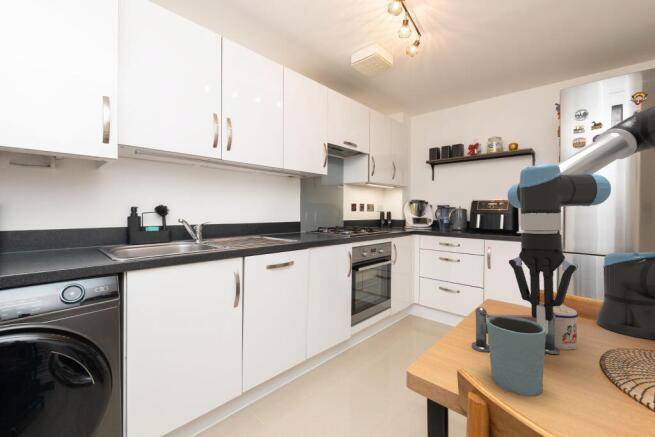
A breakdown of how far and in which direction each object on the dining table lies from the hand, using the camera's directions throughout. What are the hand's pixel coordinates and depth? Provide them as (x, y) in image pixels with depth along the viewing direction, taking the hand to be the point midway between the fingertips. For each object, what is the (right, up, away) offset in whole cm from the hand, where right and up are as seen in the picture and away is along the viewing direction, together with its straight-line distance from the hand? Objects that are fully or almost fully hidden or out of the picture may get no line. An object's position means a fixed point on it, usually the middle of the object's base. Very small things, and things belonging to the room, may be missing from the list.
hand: (542, 332), depth 65 cm
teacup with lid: (+12, -7, +10) cm, 17 cm away
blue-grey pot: (-12, -7, -8) cm, 16 cm away
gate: (-3, -6, +6) cm, 9 cm away
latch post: (-11, -7, +7) cm, 14 cm away
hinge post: (+5, -7, +5) cm, 10 cm away
